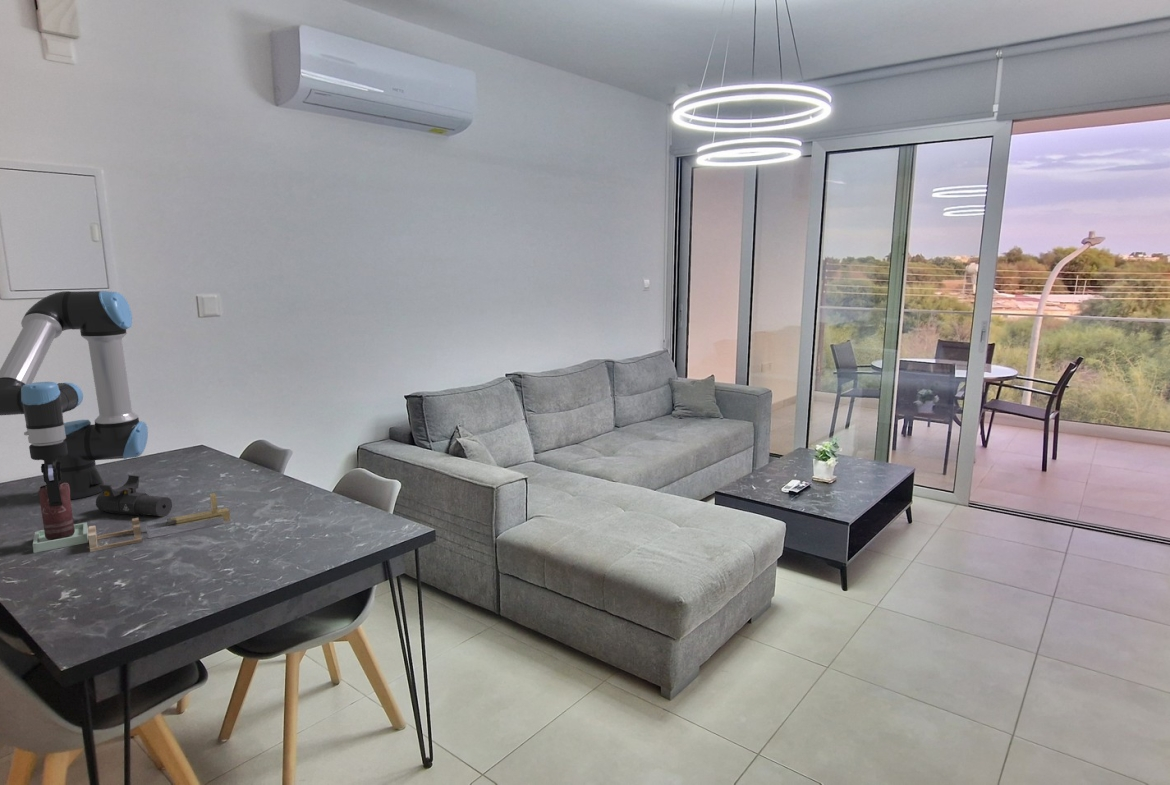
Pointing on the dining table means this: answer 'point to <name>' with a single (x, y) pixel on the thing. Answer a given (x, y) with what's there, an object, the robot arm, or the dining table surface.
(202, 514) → the keeper bolt
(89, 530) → the socket
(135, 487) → the laser sight
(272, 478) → the dining table surface
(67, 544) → the pale green shallow tray
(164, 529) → the keeper guide
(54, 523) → the can
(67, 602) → the dining table surface
